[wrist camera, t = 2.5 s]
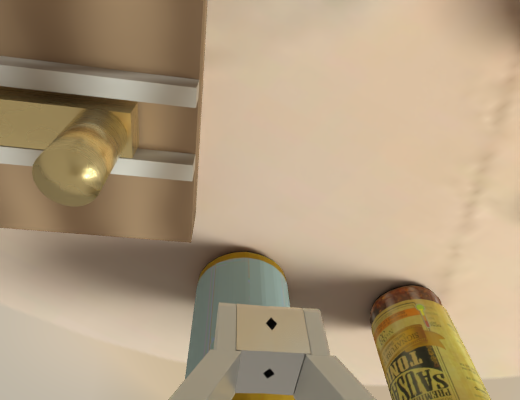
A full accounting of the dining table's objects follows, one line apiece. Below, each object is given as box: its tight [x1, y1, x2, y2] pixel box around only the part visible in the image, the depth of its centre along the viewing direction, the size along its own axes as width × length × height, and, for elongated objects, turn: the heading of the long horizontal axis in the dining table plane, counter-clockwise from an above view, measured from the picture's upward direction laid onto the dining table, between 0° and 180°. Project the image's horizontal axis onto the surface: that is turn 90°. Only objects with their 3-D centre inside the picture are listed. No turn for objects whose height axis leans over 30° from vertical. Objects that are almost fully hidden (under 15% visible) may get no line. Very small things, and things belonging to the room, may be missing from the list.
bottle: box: [185, 252, 295, 400], centre depth 26 cm, size 7×7×15 cm
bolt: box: [0, 86, 139, 206], centre depth 18 cm, size 9×3×6 cm, turn 82°
